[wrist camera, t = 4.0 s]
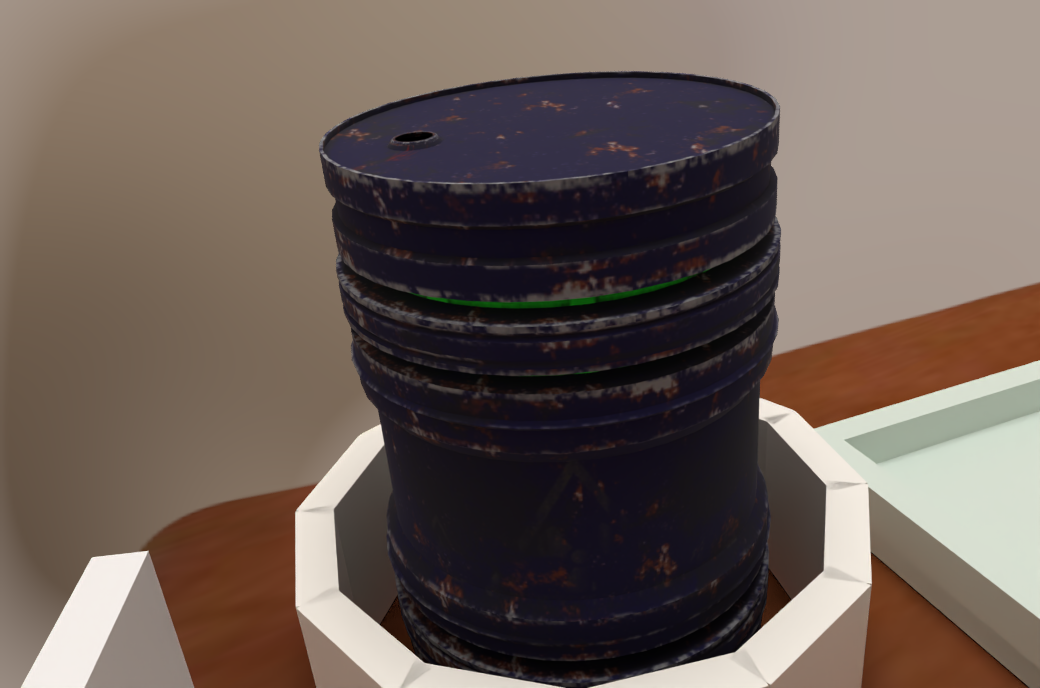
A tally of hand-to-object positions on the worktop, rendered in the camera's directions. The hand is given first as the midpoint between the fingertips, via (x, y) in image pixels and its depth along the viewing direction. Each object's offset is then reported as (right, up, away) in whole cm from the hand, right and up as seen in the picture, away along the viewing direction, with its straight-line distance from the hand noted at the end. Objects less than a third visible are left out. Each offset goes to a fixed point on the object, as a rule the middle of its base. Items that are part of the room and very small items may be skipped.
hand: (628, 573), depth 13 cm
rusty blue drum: (0, -5, +13) cm, 14 cm away
